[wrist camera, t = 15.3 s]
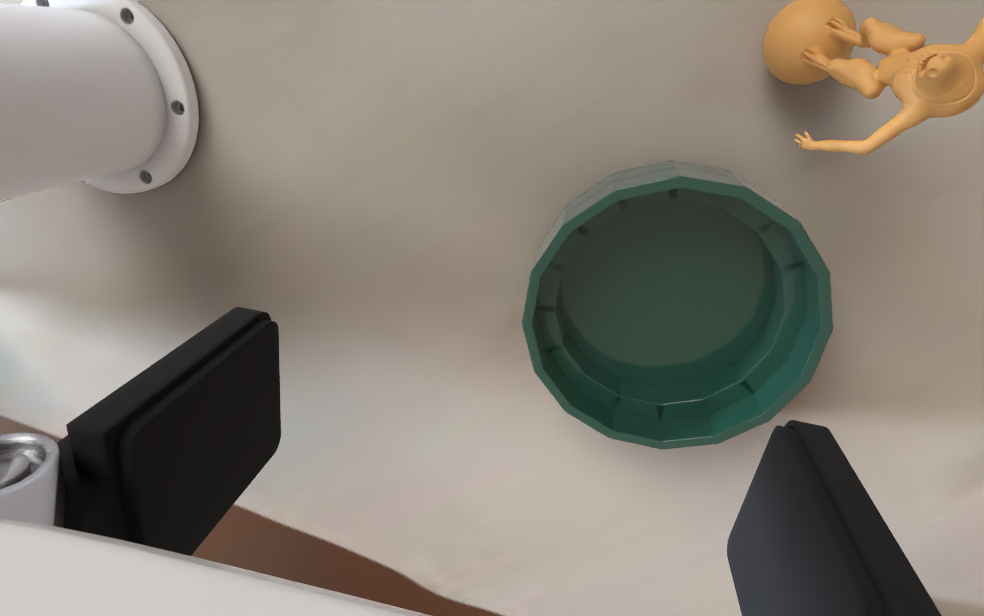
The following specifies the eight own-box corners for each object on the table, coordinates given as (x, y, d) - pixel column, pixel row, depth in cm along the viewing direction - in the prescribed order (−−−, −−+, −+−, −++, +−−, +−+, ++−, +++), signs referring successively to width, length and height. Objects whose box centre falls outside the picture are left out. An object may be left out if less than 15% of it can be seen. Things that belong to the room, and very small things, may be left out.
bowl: (516, 376, 41) (505, 416, 36) (558, 140, 34) (551, 154, 30) (752, 424, 39) (771, 473, 35) (845, 188, 32) (884, 209, 28)
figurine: (828, -63, 28) (970, -134, 17) (922, 12, 29) (1118, -12, 18) (709, 90, 32) (765, 110, 21) (795, 154, 32) (894, 206, 21)
